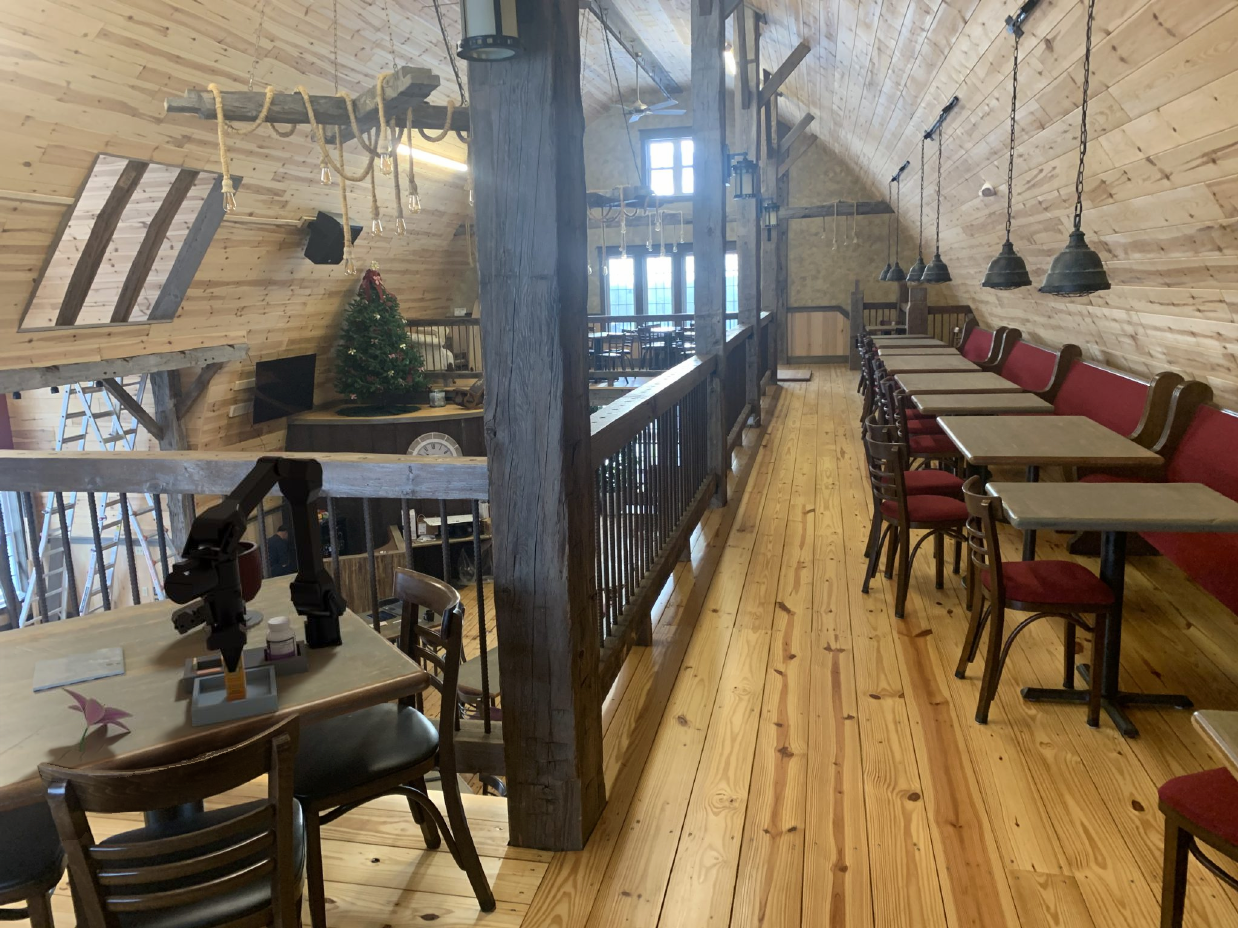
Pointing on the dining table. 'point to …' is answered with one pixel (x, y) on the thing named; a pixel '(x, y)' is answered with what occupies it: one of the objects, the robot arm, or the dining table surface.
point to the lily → (97, 712)
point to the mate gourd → (248, 579)
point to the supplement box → (236, 681)
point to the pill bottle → (280, 639)
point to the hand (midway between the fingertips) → (232, 667)
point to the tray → (216, 707)
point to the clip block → (251, 660)
